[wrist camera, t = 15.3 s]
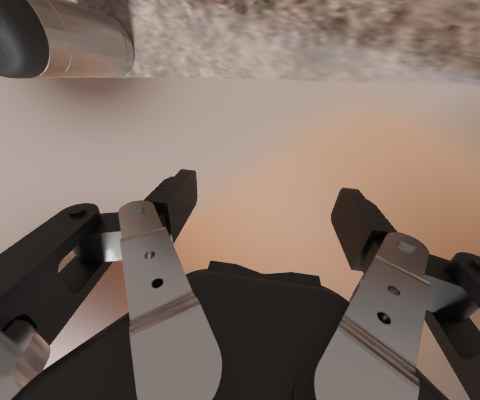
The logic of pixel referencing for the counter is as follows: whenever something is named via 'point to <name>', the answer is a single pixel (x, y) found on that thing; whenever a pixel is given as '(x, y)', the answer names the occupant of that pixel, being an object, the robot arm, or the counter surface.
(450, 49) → the counter surface
